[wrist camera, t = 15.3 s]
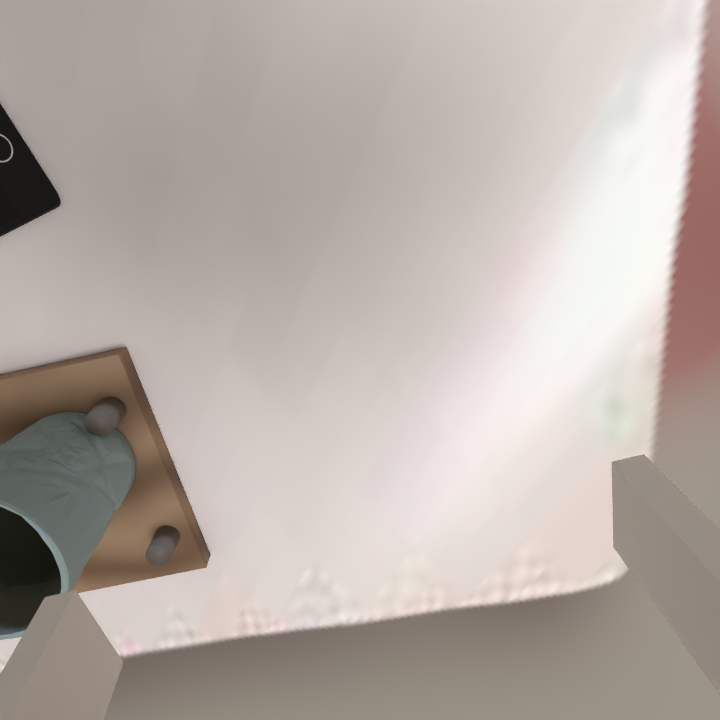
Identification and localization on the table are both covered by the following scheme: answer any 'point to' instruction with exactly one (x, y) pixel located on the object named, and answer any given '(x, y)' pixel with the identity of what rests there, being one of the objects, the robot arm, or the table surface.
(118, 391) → the plate
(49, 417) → the green cup
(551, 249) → the table surface
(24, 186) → the cell phone
